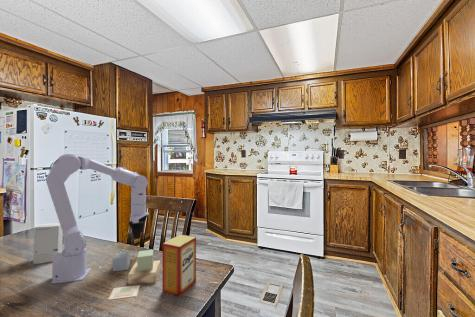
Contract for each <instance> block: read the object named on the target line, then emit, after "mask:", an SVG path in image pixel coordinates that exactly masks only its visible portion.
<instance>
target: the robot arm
mask: <svg viewBox="0 0 475 317" xmlns="http://www.w3.org/2000/svg"><path fill="white" fill-rule="evenodd" d="M78 170H82V171H83V170H93V171H95V172H97V173H101V174H104V175H108V176H110V177H111V180H112V181H114V182H117V183H120V184H123V185H126V186H129V187H131V190H130V191H131V194H130V196H131V197H130V202H131V203H130V207H131V208H130V209H131V210H130V212H131V214H130V217H131V219H132V221H131V220H130V221H129V222H128V226H129V227H130V229H131V232H132V235H133V236H132V237H133V239H134V240H140V238H141V234H142V233H143V232H144V229H145V224H146V220H147V217H148V216H149V215H150V213H149V212H147V191H146V190H147V187H148V185H149V181H148V179H147V177H146V176H145V175H141V174H139V173H138V172H137V171H134V172H133V171H132V170H129V169H127V167H125V166H122V167H121V166H118V167H115V168H114V167H111V166H109V165H107V164H105V163H102V162H99V161H97V160H94V159H91V158H89V157H84V156H81V155H80V156H79V155H76V154H71V153H65V154H62V155H60V156H59V157H58V158H57V159H56V160H55V161H54V162H53V164H52V167H51V169H50V171H49V173H48V175H47V176H46V185H47V188H48V191H49V194H50V197H51V198H50V199H51V200H52V203H53V207H54V210H55V212H56V216H57V219H58V223H60V225H61V228H62V231H63V232H62V245H63V250H62V253H57V254H56V255H55V257H54V259H53V262H52V269H51V270H52V272H51V273H52V275H51V276H52V281H51V282H50V284H59V283H69V282H78V281H83V280H84V279H85V278H86V276H88V273H89V272H90V271H91V268H90V267H89V268H87V240H86V239H85V237H84V234H83V232H82V231H81V230H80V228H79V226H78V224H77V220H76V218H75V214H74V211H73V208H72V204H71V201H70V198H69V196H68V192H67V190H66V186H65V182H66V181H67V180H68V178H69V177H70V176H72V175H73V174H74V173H75V172H77V171H78Z"/></svg>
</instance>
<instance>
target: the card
mask: <svg viewBox="0 0 475 317" xmlns="http://www.w3.org/2000/svg"><path fill="white" fill-rule="evenodd" d="M140 287H141V285H140V284H139V285H129V286H122V287H121V286H119V287H113V289H112V291H111V293H110V294H109V297H108V301H113V300H120V299H129V298H134V297H135V298H136V297H138V295H139V294H138V293H139V291H140Z"/></svg>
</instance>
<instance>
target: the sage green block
mask: <svg viewBox="0 0 475 317" xmlns="http://www.w3.org/2000/svg"><path fill="white" fill-rule="evenodd" d="M136 258H137V259H136V262H137V271H144V270H151V269H153V261H154V249H148V250H139V251H138V253H137V257H136Z"/></svg>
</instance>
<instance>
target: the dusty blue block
mask: <svg viewBox="0 0 475 317" xmlns="http://www.w3.org/2000/svg"><path fill="white" fill-rule="evenodd" d="M130 265H131V252H130V251H128V252H117V253H115V255H114V256H113V258H112V271H113V272H118V271H127V270H128V268H129V267H130Z"/></svg>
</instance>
